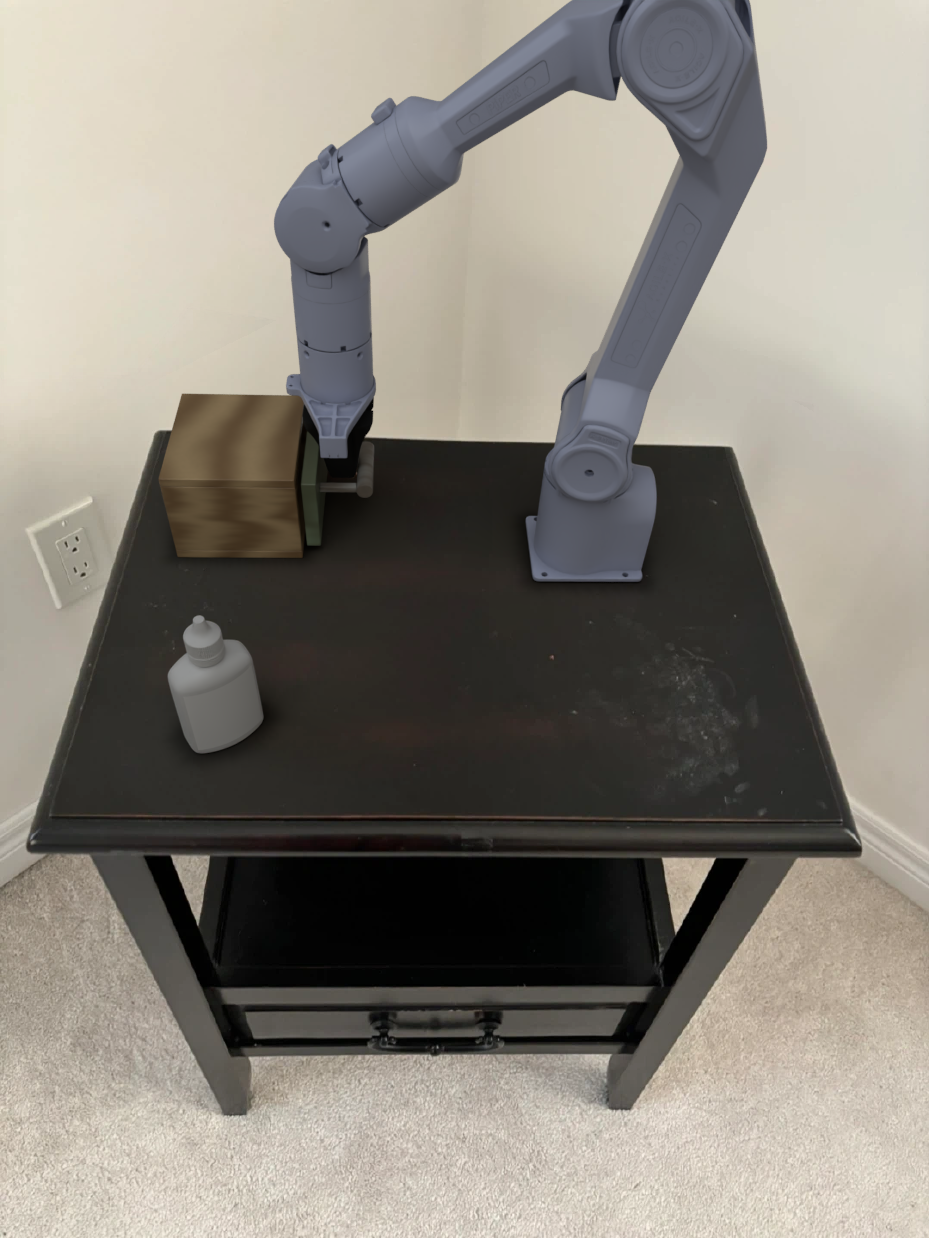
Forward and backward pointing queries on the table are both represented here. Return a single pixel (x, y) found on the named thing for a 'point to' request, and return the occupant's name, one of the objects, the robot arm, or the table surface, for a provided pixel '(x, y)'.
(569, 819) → the table surface
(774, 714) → the table surface
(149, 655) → the table surface
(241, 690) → the eye dropper bottle
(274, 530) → the cabinet
